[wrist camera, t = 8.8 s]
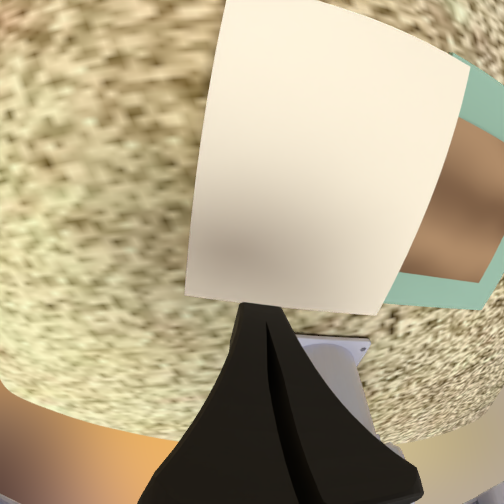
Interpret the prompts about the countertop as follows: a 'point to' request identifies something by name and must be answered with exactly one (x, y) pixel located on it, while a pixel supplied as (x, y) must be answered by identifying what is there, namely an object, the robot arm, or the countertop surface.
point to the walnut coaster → (462, 210)
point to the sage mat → (476, 294)
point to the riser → (316, 156)
